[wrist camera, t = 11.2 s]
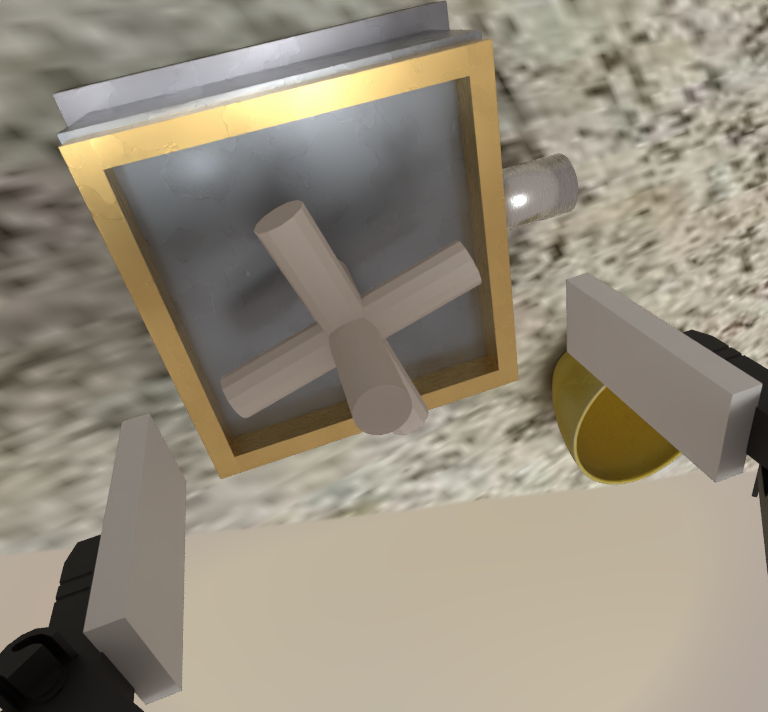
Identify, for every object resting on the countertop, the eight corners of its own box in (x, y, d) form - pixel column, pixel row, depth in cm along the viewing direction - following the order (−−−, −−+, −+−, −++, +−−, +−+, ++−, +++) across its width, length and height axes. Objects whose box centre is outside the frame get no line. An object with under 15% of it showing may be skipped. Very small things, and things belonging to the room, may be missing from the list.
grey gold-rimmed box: (59, 90, 25) (-2, 117, 18) (510, -16, 28) (622, -33, 20) (204, 403, 35) (204, 505, 27) (529, 301, 38) (610, 368, 30)
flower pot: (538, 306, 38) (600, 357, 32) (661, 304, 41) (739, 351, 35) (508, 427, 43) (557, 492, 37) (620, 418, 46) (682, 476, 40)
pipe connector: (376, 111, 22) (471, 173, 14) (467, 305, 27) (574, 433, 19) (158, 242, 22) (121, 379, 14) (291, 405, 28) (321, 573, 20)
